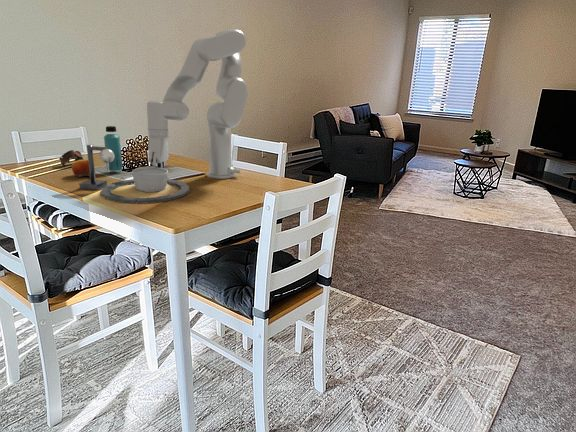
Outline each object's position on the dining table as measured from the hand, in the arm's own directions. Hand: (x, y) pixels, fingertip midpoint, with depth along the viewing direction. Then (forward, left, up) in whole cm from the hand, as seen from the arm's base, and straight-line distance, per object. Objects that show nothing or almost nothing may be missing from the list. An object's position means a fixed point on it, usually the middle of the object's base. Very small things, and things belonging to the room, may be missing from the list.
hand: (160, 178), depth 169 cm
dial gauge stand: (+18, +14, -2) cm, 23 cm away
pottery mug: (+48, -18, -2) cm, 52 cm away
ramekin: (0, +10, -2) cm, 10 cm away
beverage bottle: (+25, -10, -2) cm, 27 cm away
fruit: (+34, -1, -2) cm, 34 cm away
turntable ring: (0, +14, -2) cm, 14 cm away
